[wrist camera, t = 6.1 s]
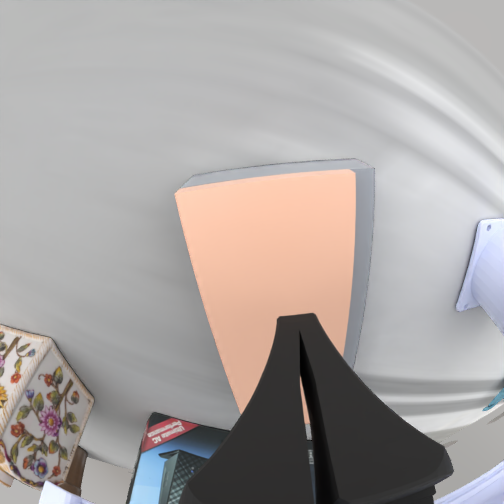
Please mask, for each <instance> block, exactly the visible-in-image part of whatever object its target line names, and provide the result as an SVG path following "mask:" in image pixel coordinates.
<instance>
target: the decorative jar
mask: <svg viewBox="0 0 504 504" xmlns="http://www.w3.org/2000/svg"><path fill="white" fill-rule="evenodd" d="M93 404H94V398H93V397H92V395H91V394H90V393H89V392H88V390H87V389H86V388H85V386H84V385H83V383H82V382H81V381H80V380H79V378H78V377H77V375H76V374H75V373H74V371H73V370H72V368H71V367H70V366H69V364H68V363H67V361H66V360H65V359H64V357H63V355H62V354H61V352H60V351H59V349H58V348H57V346H56V344H55V343H54V341H53V340H52V339H51V338H50V337H46V336H41V335H37V334H31V333H27V332H24V331H21V330H17V329H14V328H9V327H7V326H4V325H1V324H0V483H1V484H2V485H4V486H6V487H11V485H12V482H13V480H14V479H16V480H19V481H20V482H22V483H23V484H25V485H27V486H29V487H31V488H35V489H37V490H39V491H40V490H43V487H44V484H45V481H49V482H51V483H53V484H55V485H56V486H59V485H61V484H63V483H65V481H66V477H67V475H68V471H69V468H70V466H71V463H72V460H73V457H74V454H75V452H76V449H77V446H78V444H79V441H80V438H81V436H82V433H83V430H84V428H85V425H86V423H87V420H88V417H89V414H90V412H91V409H92V407H93Z"/></svg>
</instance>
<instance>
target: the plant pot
mask: <svg viewBox="0 0 504 504" xmlns="http://www.w3.org/2000/svg"><path fill="white" fill-rule="evenodd" d="M86 458H87V453H86V451H84V450H83V449H81V448H80V447H78V446H77V449H76V452H75V454H74V457H73V460H72V463H71V466H70V468H69V471H68V475H67V477H66V481H65V483H63V484H61V485H59V486H58V487H60V488H62V489H64V490H66V491H68V492H70V493H72V494H75V495H77V496H79V497H81V483H82V477H83V472H84V467H85V462H86Z"/></svg>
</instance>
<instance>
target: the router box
mask: <svg viewBox="0 0 504 504" xmlns="http://www.w3.org/2000/svg"><path fill="white" fill-rule="evenodd" d="M229 433H230V432H229V431H224V430H219V429H214V428H210V427H205V426H202V425H198V424H194V423H190V422H186V421H183V420H179V419H175V418H172V417H169V416H165V415H162V414H158V413H152V415H151V417H150V418H149V420H148V421H147V424H146V428H145V431H144V434H143V438H142V441H141V445H140V448H139V452H138V456H137V460H136V463H135V467H134V471H133V475H132V479H131V483H130V487H129V491H128V496H127V501H126V504H178V503H179V500H180V496H181V494H182V491H183V489H184V487H185V484H186V482H187V481H188V480H189V479H190V478H191V477H192V476H193V475H194V474H195V473H196V472H197V471H198V470H199V468H200V467H201V466H202V465H203V464H204V463H205V462H206V461H207V460H208V459H209V458H210V457H211V456H212V454H213V453H214V452H215V451H216V450H217V448H218V447H219V446H220V444H221V443H222V442H223V441H224V439H225V438H226V437H227V435H228V434H229ZM307 446H308V454H309V463H310V471H311V479H312V488H313V497H314V504H316V502H315V476H314V459H313V446H312V441H307Z"/></svg>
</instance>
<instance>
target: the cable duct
mask: <svg viewBox="0 0 504 504" xmlns="http://www.w3.org/2000/svg"><path fill="white" fill-rule="evenodd" d="M342 169H350V170H351V171H353V172H354V173H355V177H356V219H355V247H354V264H353V278H352V290H351V300H350V309H349V318H348V326H347V333H346V340H345V347H344V354H343V359H344V360H345V361H346V362H347V364H348V365H349V366H350V367H351V369H352V370H353V367H354V363H355V358H356V353H357V348H358V343H359V338H360V333H361V327H362V322H363V316H364V309H365V303H366V295H367V288H368V280H369V271H370V262H371V251H372V238H373V222H374V193H375V168H373V167H371V166H369V165H367V164H366V163H364V162H362V161H360V160H358V159H335V160H318V161H304V162H292V163H281V164H272V165H262V166H254V167H246V168H238V169H231V170H224V171H217V172H211V173H205V174H198V175H193V176H192V177H191V178H190V179H189V180H188V181H187V182H186V183H185V184H184V185H183V186H182V187H181V188H186V187H192V186H198V185H204V184H210V183H217V182H224V181H231V180H238V179H245V178H253V177H262V176H270V175H280V174H290V173H300V172H312V171H326V170H342Z"/></svg>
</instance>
